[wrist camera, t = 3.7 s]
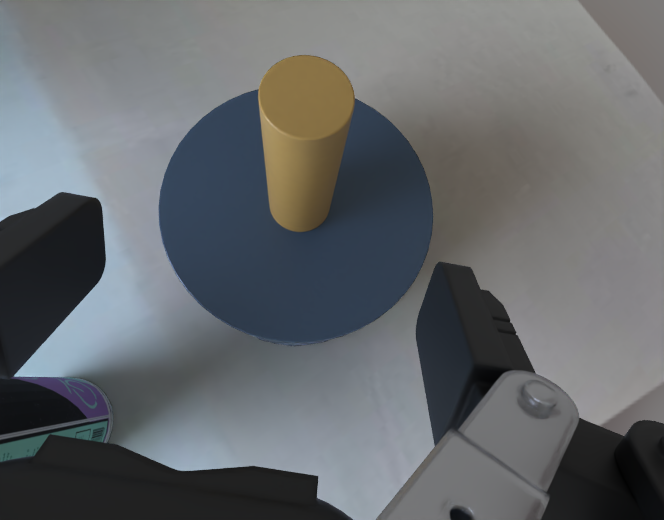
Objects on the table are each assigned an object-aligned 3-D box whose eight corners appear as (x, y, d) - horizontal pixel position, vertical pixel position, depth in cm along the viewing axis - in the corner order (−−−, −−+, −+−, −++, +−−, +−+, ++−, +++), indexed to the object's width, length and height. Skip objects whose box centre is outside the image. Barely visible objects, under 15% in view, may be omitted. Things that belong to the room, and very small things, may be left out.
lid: (125, 149, 24) (13, -10, 14) (356, 65, 27) (396, -118, 17) (228, 393, 21) (177, 404, 12) (472, 274, 24) (600, 200, 14)
